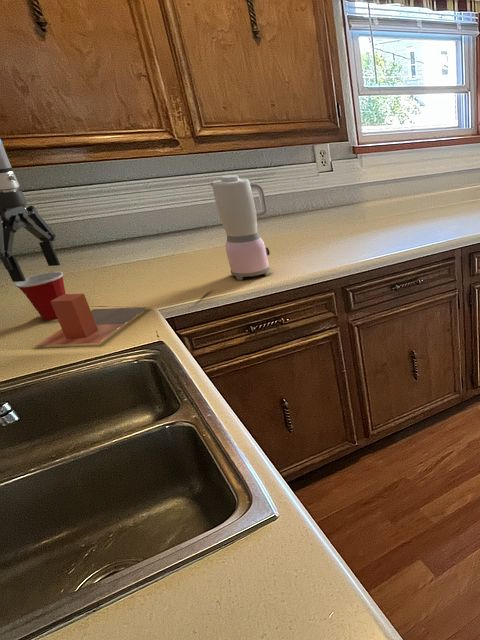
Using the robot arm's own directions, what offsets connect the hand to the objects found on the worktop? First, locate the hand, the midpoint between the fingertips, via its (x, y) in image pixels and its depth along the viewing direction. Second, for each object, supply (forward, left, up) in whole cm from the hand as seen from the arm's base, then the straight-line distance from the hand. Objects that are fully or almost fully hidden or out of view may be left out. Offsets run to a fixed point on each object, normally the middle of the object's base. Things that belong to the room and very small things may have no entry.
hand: (37, 273), depth 138 cm
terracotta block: (+15, -14, -12) cm, 24 cm away
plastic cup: (0, 0, -13) cm, 13 cm away
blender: (+44, +35, -13) cm, 58 cm away
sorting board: (+15, -8, -13) cm, 22 cm away
